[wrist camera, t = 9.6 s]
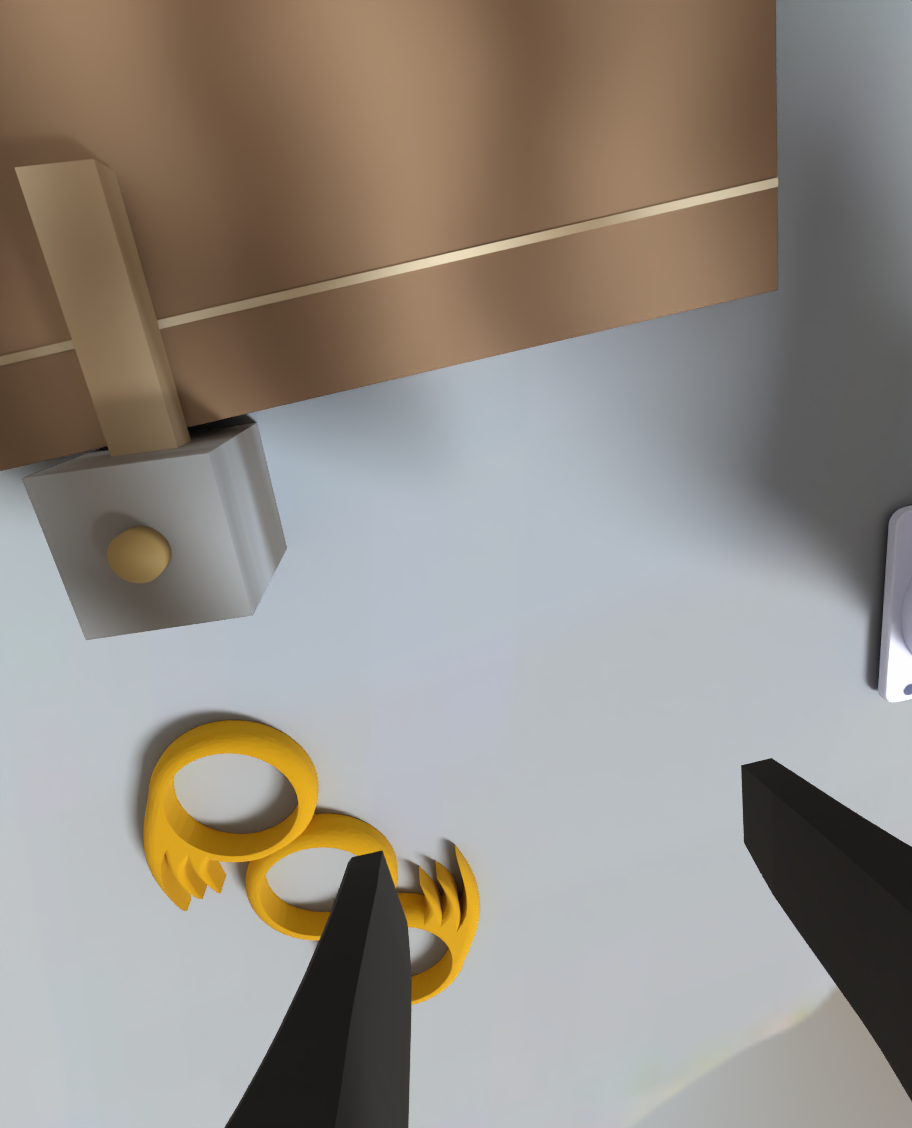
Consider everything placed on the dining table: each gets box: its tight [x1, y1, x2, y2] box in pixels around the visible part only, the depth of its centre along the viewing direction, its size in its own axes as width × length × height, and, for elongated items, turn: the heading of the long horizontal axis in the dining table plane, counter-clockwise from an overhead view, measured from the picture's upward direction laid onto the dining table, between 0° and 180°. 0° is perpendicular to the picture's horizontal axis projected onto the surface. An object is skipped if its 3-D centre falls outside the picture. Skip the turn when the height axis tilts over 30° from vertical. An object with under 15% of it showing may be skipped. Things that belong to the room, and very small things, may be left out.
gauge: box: [15, 159, 287, 640], centre depth 15 cm, size 4×10×6 cm, turn 7°
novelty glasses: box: [143, 720, 480, 1005], centre depth 24 cm, size 17×2×10 cm
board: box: [0, 0, 778, 471], centre depth 15 cm, size 24×10×2 cm, turn 102°
